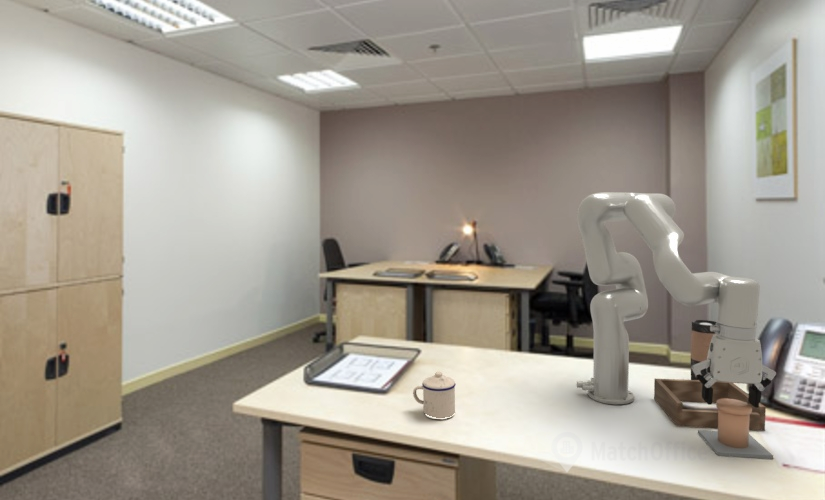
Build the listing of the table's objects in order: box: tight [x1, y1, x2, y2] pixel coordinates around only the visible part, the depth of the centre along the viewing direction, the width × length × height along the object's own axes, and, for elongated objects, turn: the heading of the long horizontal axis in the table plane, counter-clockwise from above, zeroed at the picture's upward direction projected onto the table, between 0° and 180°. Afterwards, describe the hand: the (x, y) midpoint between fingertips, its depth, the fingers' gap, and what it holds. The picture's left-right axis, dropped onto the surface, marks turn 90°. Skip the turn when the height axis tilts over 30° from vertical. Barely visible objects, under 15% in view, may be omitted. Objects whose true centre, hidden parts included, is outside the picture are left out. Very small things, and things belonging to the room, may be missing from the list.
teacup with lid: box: [412, 371, 456, 418], centre depth 132 cm, size 12×9×12 cm
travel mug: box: [690, 319, 717, 380], centre depth 147 cm, size 8×8×20 cm
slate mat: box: [697, 429, 774, 460], centre depth 111 cm, size 11×11×1 cm
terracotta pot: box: [715, 398, 752, 448], centre depth 111 cm, size 7×7×9 cm
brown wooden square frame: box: [653, 378, 767, 432], centre depth 128 cm, size 20×18×6 cm
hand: (730, 403), depth 111 cm, fingers open, 9 cm apart
